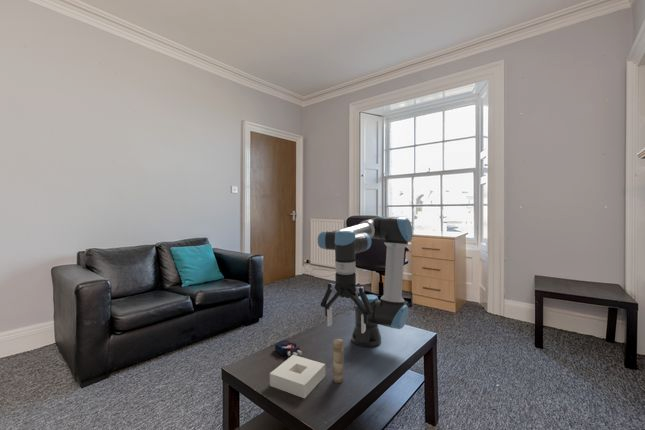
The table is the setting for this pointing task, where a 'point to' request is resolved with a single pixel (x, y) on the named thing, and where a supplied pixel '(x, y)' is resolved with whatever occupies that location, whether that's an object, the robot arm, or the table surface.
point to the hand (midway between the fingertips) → (346, 328)
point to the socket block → (297, 376)
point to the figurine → (287, 348)
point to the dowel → (338, 360)
